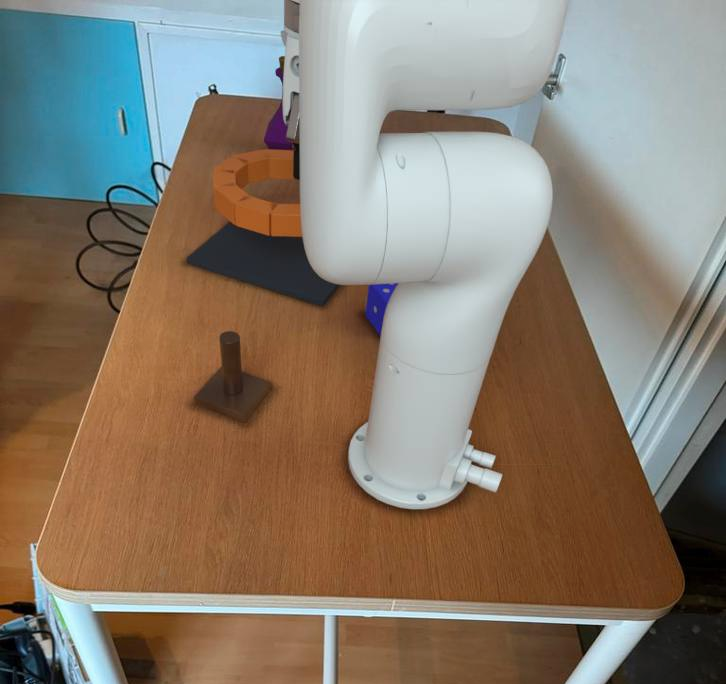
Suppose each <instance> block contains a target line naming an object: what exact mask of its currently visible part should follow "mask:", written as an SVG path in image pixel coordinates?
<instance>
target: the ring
mask: <svg viewBox="0 0 726 684" xmlns="http://www.w3.org/2000/svg"><path fill="white" fill-rule="evenodd" d="M293 158H294V151H293V150H271V149H269V148H263V149H258V150H253V151H248V152H243V153H238V154H233V155H230V156H229V157H228V158H226V159H225V160H224V161H222V162H221V163H220V164H218V165H216V166H215V167H214V168H213V170H212V177H213V178H212V190H213V203H214V208H215V210H216V211H217V212H219V214H221V215H222V216H223V217H225V219H227V220H228V221H229V222H232V223H233V224H234V225H236V226H239V227H242V228H245V229H248V230H252V231H255V232H258V233H261V234H265V235H268V236H270V235H271V236H289V237H302V228H301V215H300V203H275V202H271V201H268V200H265V199H261V198H258V197H255V196H251V195H250V194H248V193H247V192H246V191H244V190H243V189H244V188H246V186H248V185H249V184H253V183H257V182H262V181H266V180H291V181H292V180H294V181H297V182H300V180H298V179H295V178H294V177H293Z"/></svg>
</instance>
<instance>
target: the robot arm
mask: <svg viewBox="0 0 726 684" xmlns="http://www.w3.org/2000/svg"><path fill="white" fill-rule="evenodd" d="M569 4H570V0H283V31H285V32H286V33H287V40H286V47H285V50H284V51H285V52H284V56H285V61H284V75H283V120H284V123H285V124H286V125H287V126H288V129H287V134H286V139H287V140H288V141H290V142H292V149H293V150H294V158H293V177H294V178H295V179H298V180H300V181H299V204H300V215H301V228H302V237H303V243H304V248H305V252H306V255H307V258H308V261H309V263H310V265H311V267H312V268H313V270H314V271H315V272H316V273H317V274H318V275H319V276H320V277H321V278H323V279H324V280H326V281H328V282H331V283H334V284H339V285H340V286H369V285H375V284H390V283H398V284H397V286H396V288H395V289H394V291H393V293H392V295H391V297H390V299H389V302H388V304H387V307H386V310H385V314H384V318H383V325H382V331H381V336H380V338H379V346H378V352H377V358H376V365H375V373H374V380H373V384H372V385H373V386H372V392H371V399H370V400H371V401H370V407H369V412H368V419H367V420H368V421H366V422H365V423H364V424H363V425H361V426H360V427H359V428H358V429H357V430H356V431H355V432H354V433H353V435H352V437H351V438H350V442H349V447H348V453H347V454H348V455H347V462H348V463H347V464H348V468H349V471H350V473H351V475H352V477H353V479H354V480H355V481H356V483H357V484H358V486H359V487H360V488H361V489H362V490H364V492H366V494H368V495H370V496H372V497H373V498H374V499H376V500H378V501H380V502H382V503H384V504H386V505H390V506H392V507H396V508H400V509H407V510H428V509H433V508H438V507H441V506H443V505H446V504H448V503H449V502H451V501H453V500H454V499H456V498H457V497H458V496H459V495H460V494H461V493H462V492H463V491H464V490H465V487H466V486H467V484H468V483H470V484H473V485H475V486H478V488H481V489H484V490H486V491H489V492H493V493H494V494H497V491H498V489H499V486H500V483H501V481H502V477H503V473H500V472H497V471H495V470H492V468H493V465H494V462H495V460H496V456H497V455H495V454H491V453H489V452H485V451H481V450H478V449H475V448H474V447H475V446H474V445H472V444H470V440H471V437H472V434H473V431H472V429H469V428H470V423H471V421H472V418H473V414H474V412H475V407H476V405H477V402H478V399H479V395H480V392H481V388H482V386H483V382H484V379H485V375H486V373H487V370H488V366H489V363H490V359H491V357H492V354H493V352H494V349H495V345H496V342H497V339H498V335H499V333H500V330H501V326H502V324H503V321H504V318H505V315H506V313H507V310H508V308H509V306H510V303H511V300H512V299H513V297H514V294H515V292H516V290H517V288H518V286H519V284H520V283H521V281H522V279H523V277H524V275H525V273H526V272H527V270H528V268H529V267H530V265H531V263H532V262H533V260H534V258H535V256H536V254H537V252H538V250H539V249H540V246H541V244H542V241H543V239H544V237H545V235H546V231H547V229H548V226H549V222H550V219H551V215H552V210H553V209H552V208H553V196H554V195H553V194H554V193H553V191H554V190H553V182H552V177H551V173H550V170H549V168H548V165H547V164H546V161H545V160H544V158H543V157H542V155H541V154H540V153H539V152H538V150H537V149H535V148H534V147H533V146H532V145H530V144H529V143H528V142H526V141H524V140H522V139H520V138H517V137H514V136H511V135H508V134H503V133H498V132H491V131H490V132H489V131H423V132H381V129H382V126H383V124H384V121H385V119H386V118H387V116H388V115H389V114H390V113H391V112H395V111H488V110H500V109H508V108H513V107H517V106H519V105H523V104H524V103H526V102H528V101H530V100H531V99H533V98H534V97H535V96H537V95H538V93H540V91H541V90H542V89H543V88H544V86H545V84H546V82H547V81H548V78H549V77H550V75H551V73H552V70H553V67H554V65H555V62H556V58H557V55H558V52H559V47H560V43H561V40H562V36H563V33H564V32H563V31H564V27H565V22H566V18H567V13H568V9H569ZM472 463H475V464H479V466H477V465H474V464H472ZM481 466H483V467H485V468H483V467H481Z"/></svg>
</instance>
